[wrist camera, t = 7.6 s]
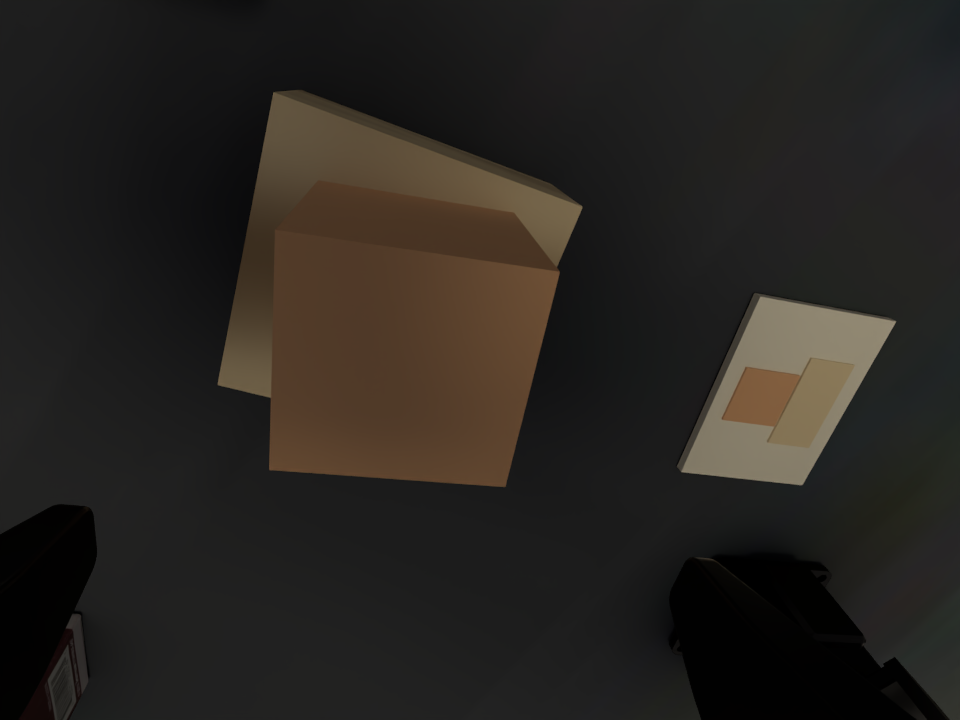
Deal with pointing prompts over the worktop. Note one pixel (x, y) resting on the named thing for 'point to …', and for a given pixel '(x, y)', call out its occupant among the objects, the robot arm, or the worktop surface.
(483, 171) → the maple base block
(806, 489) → the worktop surface
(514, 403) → the terracotta cube
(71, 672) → the supplement box
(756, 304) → the card
